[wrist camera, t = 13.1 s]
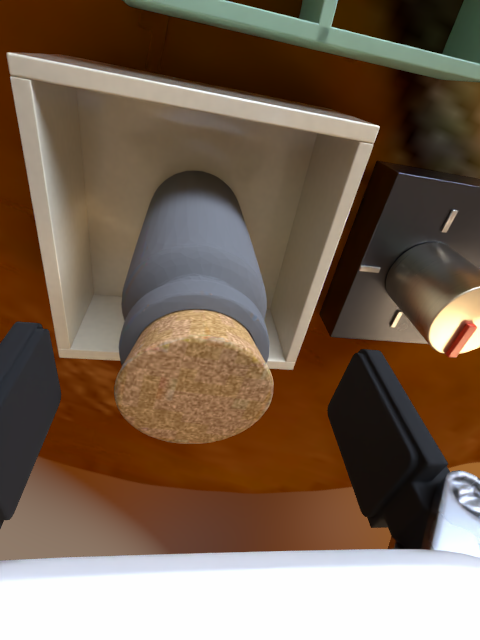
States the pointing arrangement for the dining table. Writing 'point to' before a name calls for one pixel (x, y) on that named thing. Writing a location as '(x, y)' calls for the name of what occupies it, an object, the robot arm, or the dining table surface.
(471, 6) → the green divided open-frame rack
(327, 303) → the dial faceplate
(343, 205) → the white storage tray
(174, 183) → the bottle
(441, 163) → the dining table surface
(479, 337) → the dial knob
